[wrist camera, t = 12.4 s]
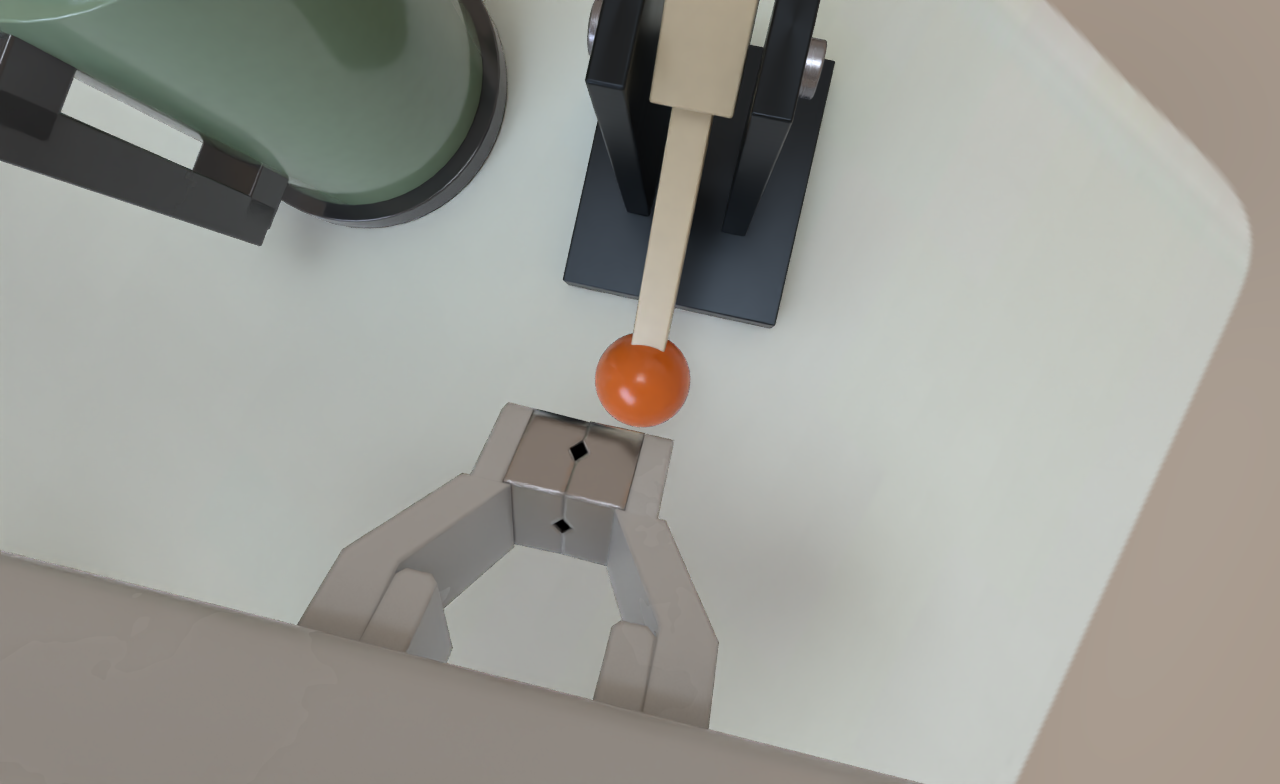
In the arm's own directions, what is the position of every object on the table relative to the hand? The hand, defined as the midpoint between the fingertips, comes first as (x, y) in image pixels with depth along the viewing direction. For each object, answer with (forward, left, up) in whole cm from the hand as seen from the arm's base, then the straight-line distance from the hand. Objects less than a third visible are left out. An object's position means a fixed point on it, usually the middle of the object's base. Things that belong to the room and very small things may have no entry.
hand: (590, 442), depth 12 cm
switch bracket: (-2, +10, -17) cm, 19 cm away
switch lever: (-1, +6, -10) cm, 11 cm away
